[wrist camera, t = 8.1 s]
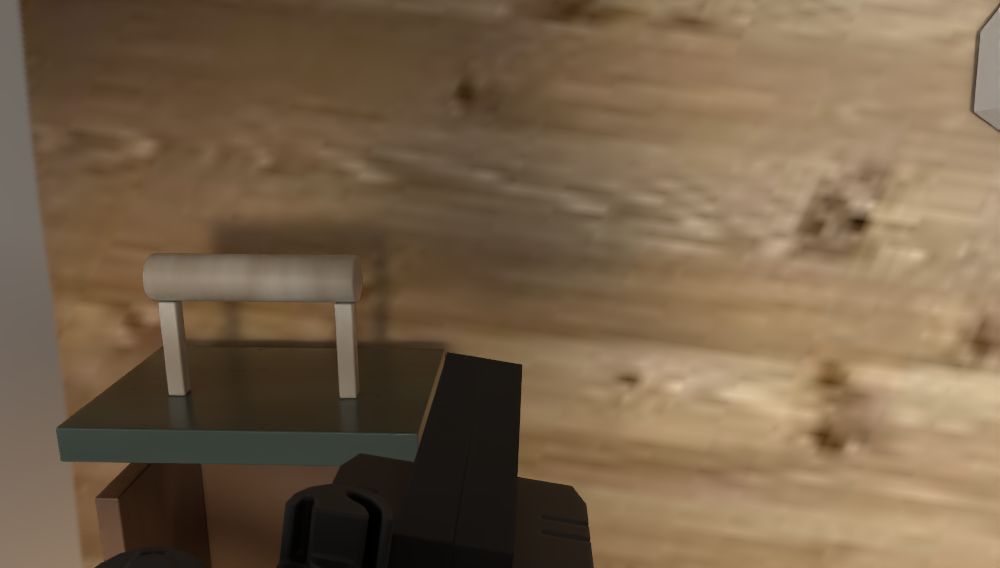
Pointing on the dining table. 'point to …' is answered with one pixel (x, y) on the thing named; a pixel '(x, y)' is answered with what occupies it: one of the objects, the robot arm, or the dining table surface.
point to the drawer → (243, 412)
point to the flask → (989, 73)
